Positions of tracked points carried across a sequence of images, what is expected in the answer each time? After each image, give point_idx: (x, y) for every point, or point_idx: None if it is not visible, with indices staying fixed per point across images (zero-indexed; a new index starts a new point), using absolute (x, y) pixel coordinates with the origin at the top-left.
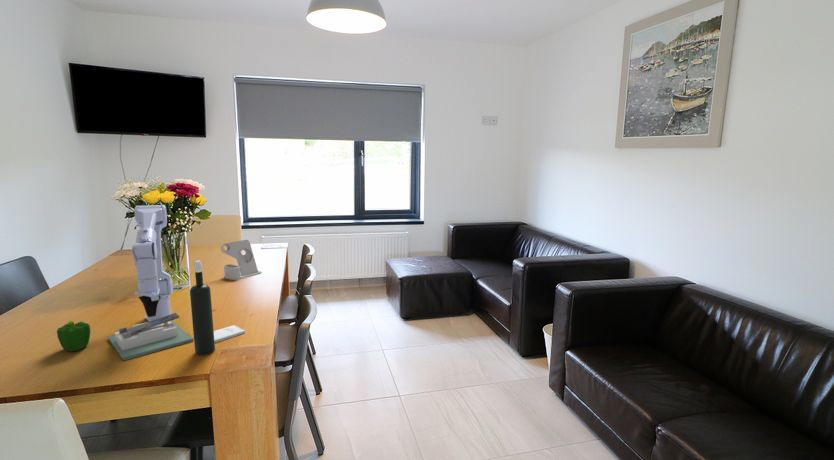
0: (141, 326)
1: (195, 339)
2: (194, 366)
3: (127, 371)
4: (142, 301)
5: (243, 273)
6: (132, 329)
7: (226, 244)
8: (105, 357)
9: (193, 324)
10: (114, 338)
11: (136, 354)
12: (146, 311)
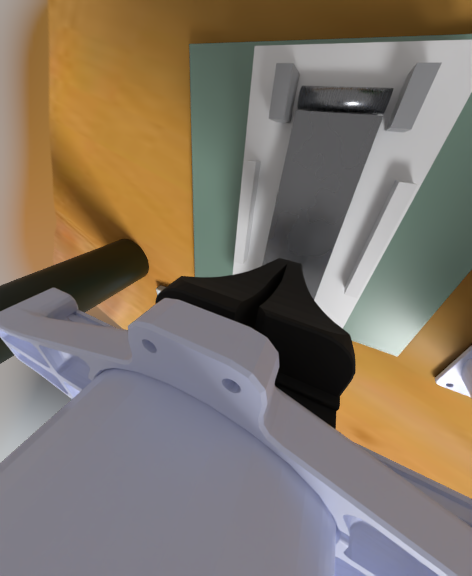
0: (308, 206)
1: (87, 252)
2: (79, 203)
3: (107, 38)
4: (193, 280)
5: None
6: (326, 153)
7: None
8: None
9: (43, 271)
10: None
11: (191, 110)
12: (271, 267)
